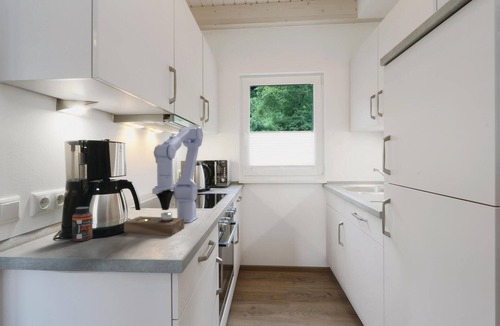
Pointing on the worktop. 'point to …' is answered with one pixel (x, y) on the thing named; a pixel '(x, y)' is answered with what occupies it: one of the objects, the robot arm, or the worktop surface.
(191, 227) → the worktop surface
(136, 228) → the walnut block
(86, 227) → the supplement bottle
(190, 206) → the robot arm
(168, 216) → the steel peg
